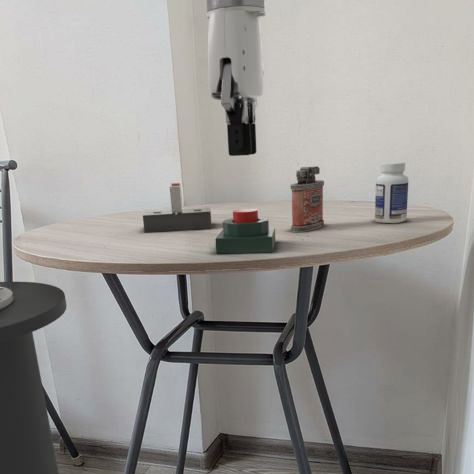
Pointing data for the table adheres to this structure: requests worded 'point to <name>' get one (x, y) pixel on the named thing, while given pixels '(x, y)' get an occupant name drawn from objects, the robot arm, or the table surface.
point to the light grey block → (176, 197)
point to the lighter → (307, 200)
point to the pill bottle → (391, 193)
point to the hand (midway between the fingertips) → (242, 154)
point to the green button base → (245, 237)
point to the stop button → (245, 215)
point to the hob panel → (177, 220)
